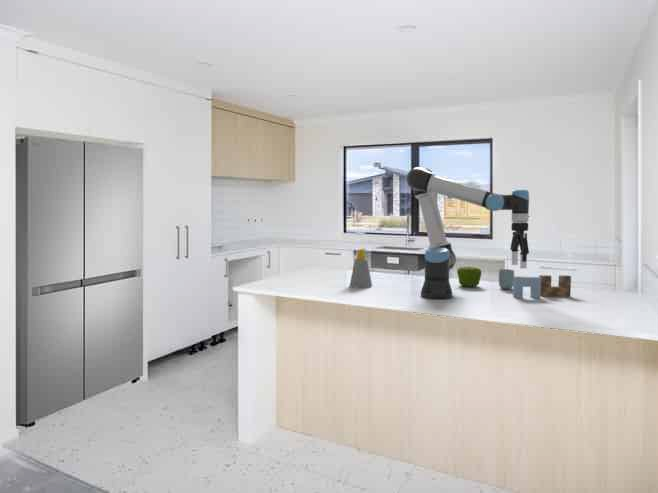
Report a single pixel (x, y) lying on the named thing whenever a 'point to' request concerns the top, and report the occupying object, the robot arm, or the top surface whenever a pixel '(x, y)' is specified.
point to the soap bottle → (361, 272)
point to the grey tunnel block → (526, 282)
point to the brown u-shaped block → (558, 291)
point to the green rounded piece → (469, 276)
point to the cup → (506, 278)
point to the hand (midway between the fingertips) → (518, 266)
